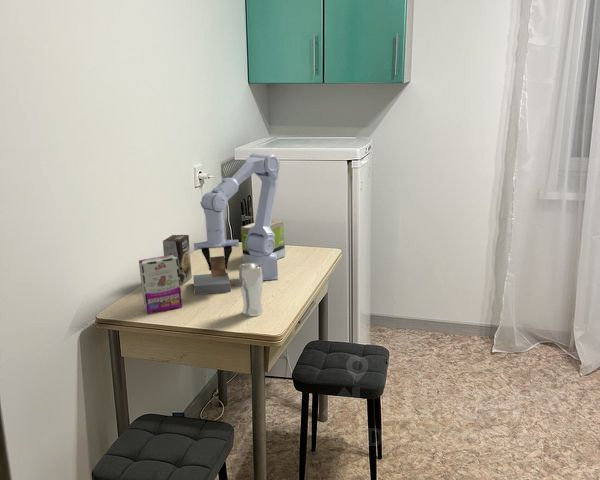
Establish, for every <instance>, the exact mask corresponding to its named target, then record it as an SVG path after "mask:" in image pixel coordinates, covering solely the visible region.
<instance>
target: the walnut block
mask: <svg viewBox="0 0 600 480" xmlns="http://www.w3.org/2000/svg"><path fill="white" fill-rule="evenodd" d="M210 263H211V270H210V272H211V273H210V274H212V277H218V276H226V273H227V272H226V270H227V269H225V259H224V255H221V256H220V255H219V256H210Z"/></svg>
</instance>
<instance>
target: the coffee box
mask: <svg viewBox="0 0 600 480" xmlns="http://www.w3.org/2000/svg"><path fill="white" fill-rule="evenodd" d="M162 246H163V247H162V249H163V256H167V255H174V256H176V257H177V259H178V269H179V279H180V286H183V285H184V284H186V283H187V282H189V280H191V279H192V277H193V275H192V264H191V249H190V236H189V234H171V235H170V236H168V237H167V238H165V239H163V240H162Z"/></svg>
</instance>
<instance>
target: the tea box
mask: <svg viewBox="0 0 600 480" xmlns="http://www.w3.org/2000/svg"><path fill="white" fill-rule="evenodd" d="M254 226H255V222H251V223H249V224H246V225H243V226H240V235H241V245H242V247H241V249H242V251H241V252H242V260H243V261H242V262H243V264H245V263H251V259H250V253H249V250H247V249H246V247H245V240H246V238H247V236H248V233H249V230H250V229H251V228H252V227H254ZM270 229H271V230H272V232H273V233H274V234H275V237H274V241H275V248H274V250H273V252H272V253H276V256H277V260H280V259H281V258H284V257H286V247H285V231H284V230H285V229H284V221H280V220H274V219H273V220H272V219H271V225H270ZM259 235H261V236H263V235H262V234H259Z"/></svg>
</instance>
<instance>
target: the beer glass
mask: <svg viewBox="0 0 600 480" xmlns="http://www.w3.org/2000/svg"><path fill="white" fill-rule="evenodd" d="M238 267H239V269H238V270H239V272H238V273H239V275H238V279H239V288H240V292H241V296H242V300H243V306H242V315H243V316H245V317H250V318H251V317H258V316H261V315H262V314H263V313H264V311H263V307H262V294H263V293H262V292H263V284H264V280H263V276H262V268H261V264H259V263H241V264H240V265H239V266H238Z"/></svg>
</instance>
